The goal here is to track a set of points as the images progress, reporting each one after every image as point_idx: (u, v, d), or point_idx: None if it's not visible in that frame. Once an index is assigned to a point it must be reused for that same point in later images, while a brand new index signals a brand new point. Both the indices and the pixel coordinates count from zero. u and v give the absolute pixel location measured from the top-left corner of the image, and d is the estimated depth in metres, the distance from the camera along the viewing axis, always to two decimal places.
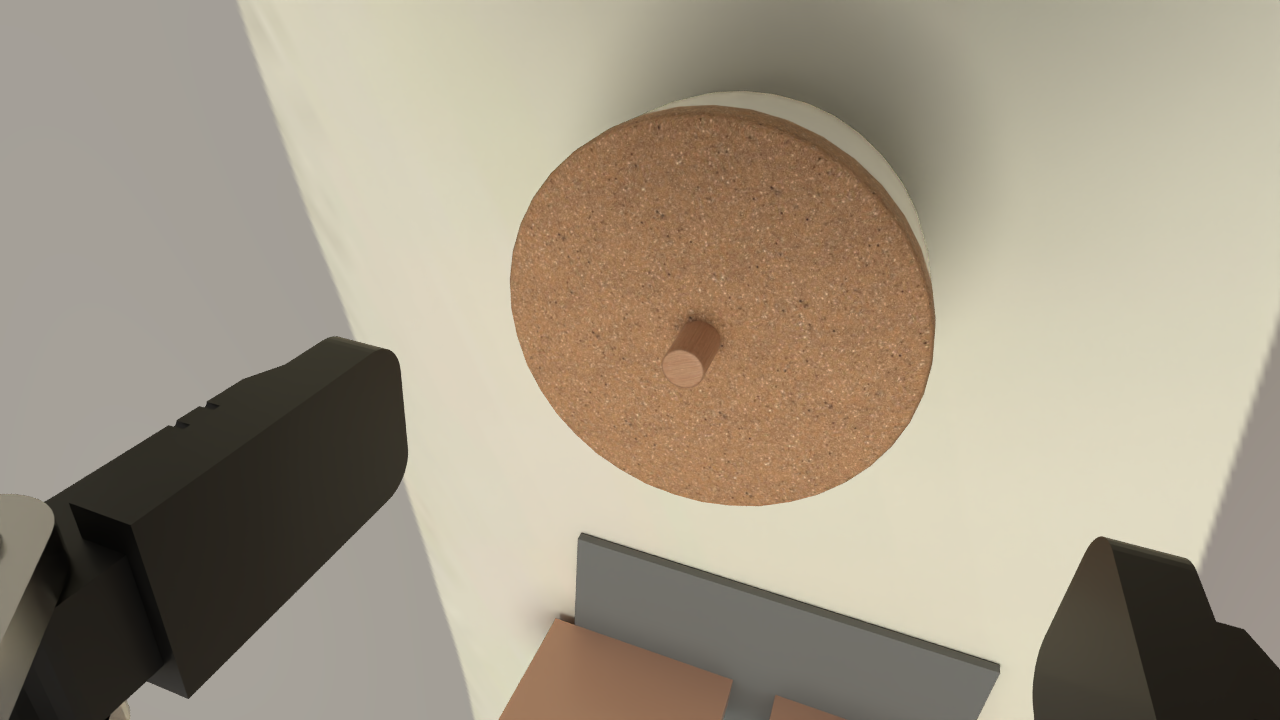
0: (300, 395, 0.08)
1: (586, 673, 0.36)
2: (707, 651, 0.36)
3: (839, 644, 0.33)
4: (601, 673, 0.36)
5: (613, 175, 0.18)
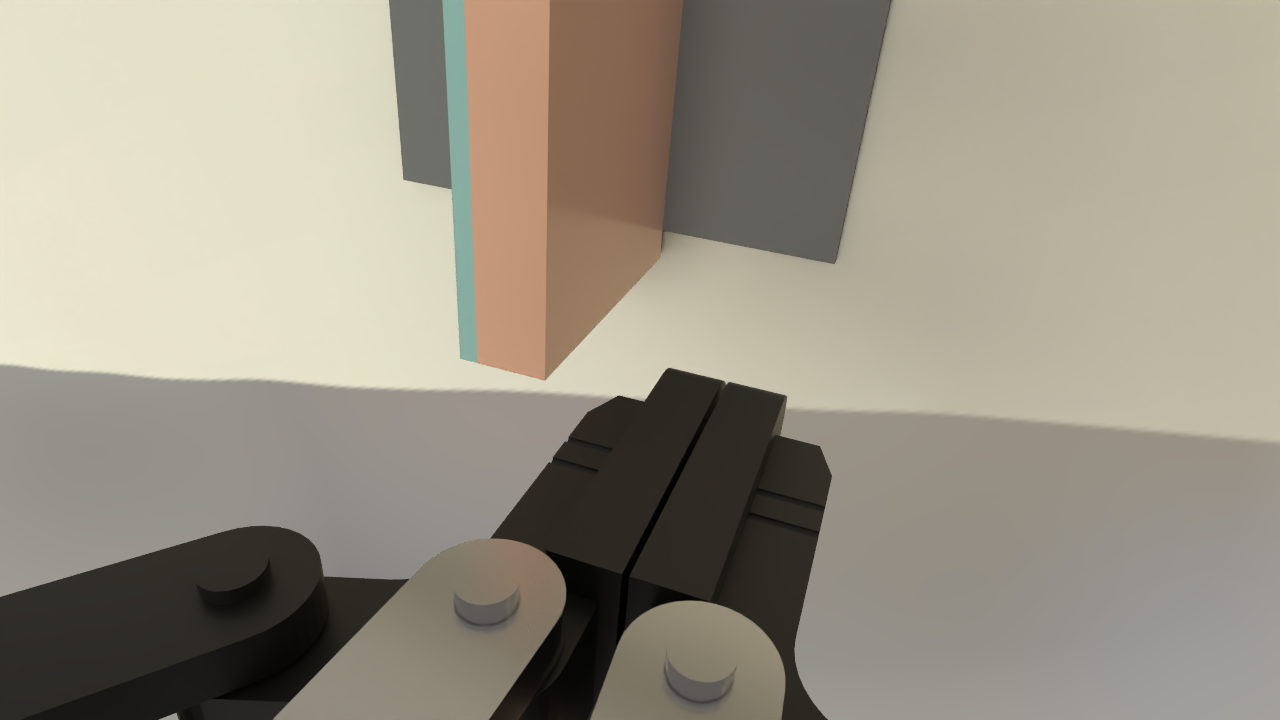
0: (683, 432, 0.08)
1: None
2: None
3: (830, 59, 0.22)
4: None
5: None
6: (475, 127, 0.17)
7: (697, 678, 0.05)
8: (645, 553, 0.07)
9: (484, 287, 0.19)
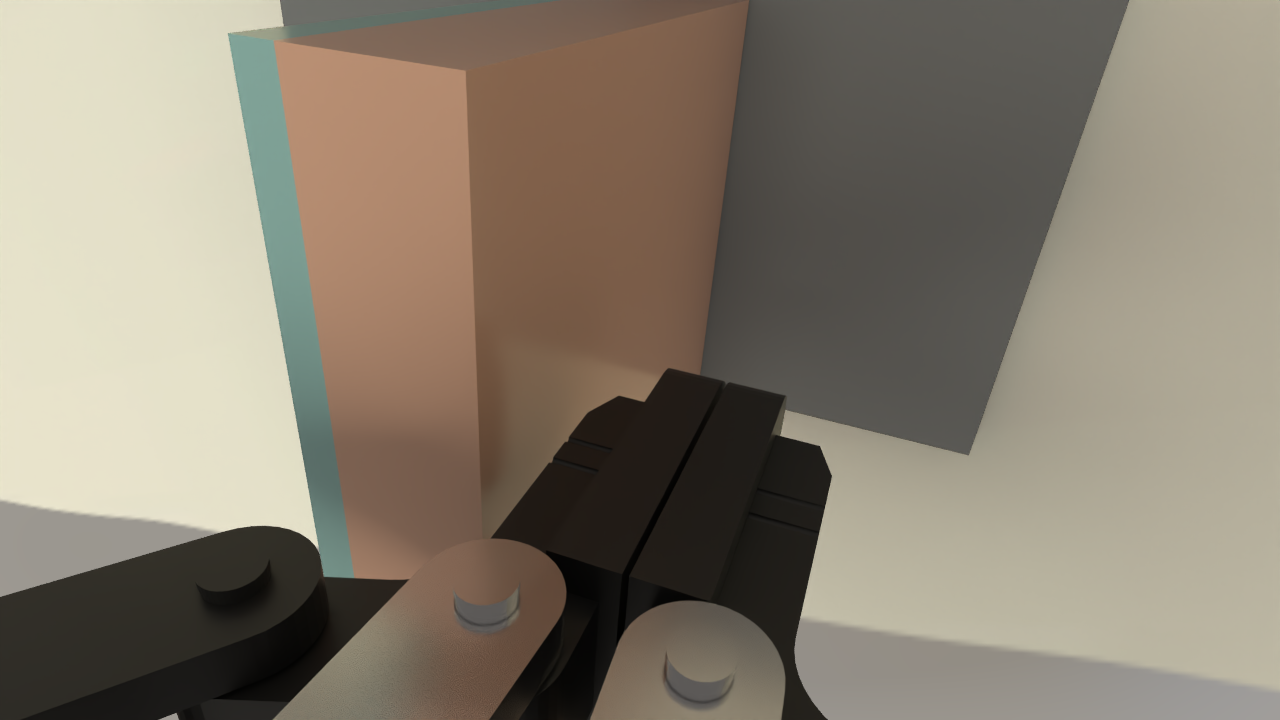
0: (683, 432, 0.08)
1: None
2: None
3: (989, 154, 0.13)
4: None
5: None
6: (333, 352, 0.08)
7: (697, 678, 0.05)
8: (645, 553, 0.07)
9: None
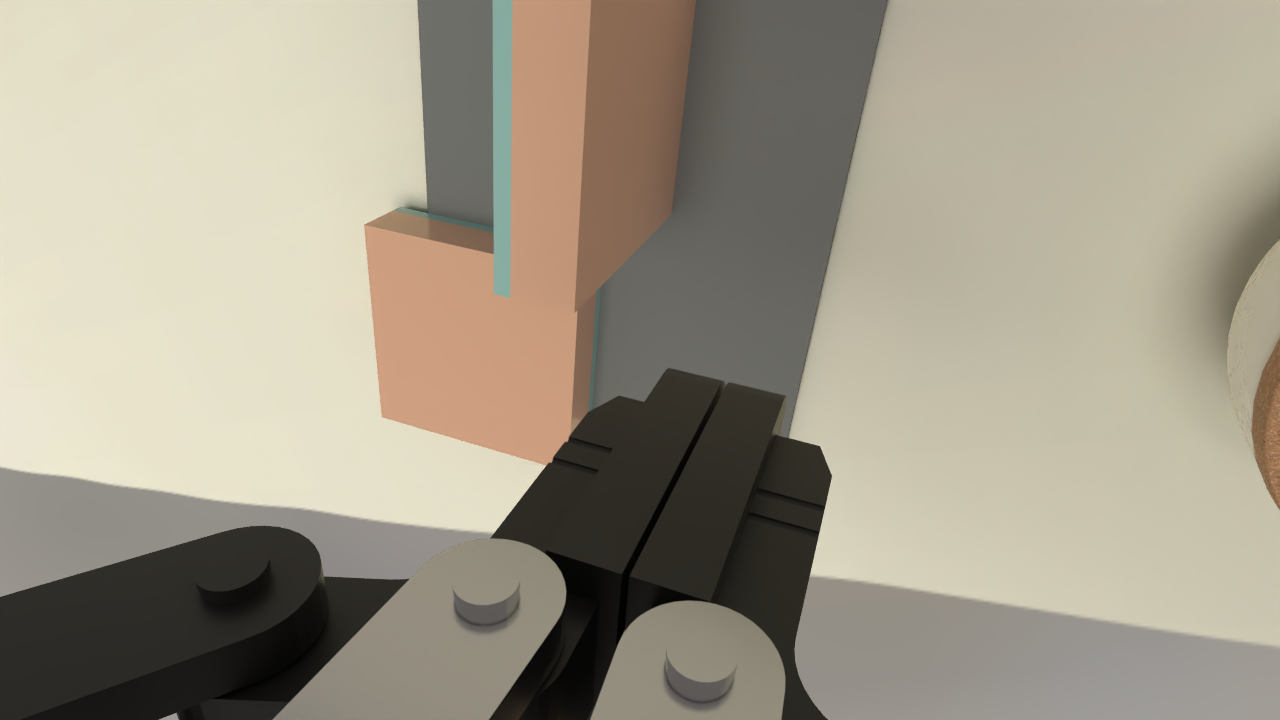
0: (683, 432, 0.08)
1: (672, 32, 0.23)
2: (712, 183, 0.27)
3: (774, 338, 0.29)
4: (673, 54, 0.24)
5: None
6: None
7: (697, 677, 0.05)
8: (645, 553, 0.07)
9: None
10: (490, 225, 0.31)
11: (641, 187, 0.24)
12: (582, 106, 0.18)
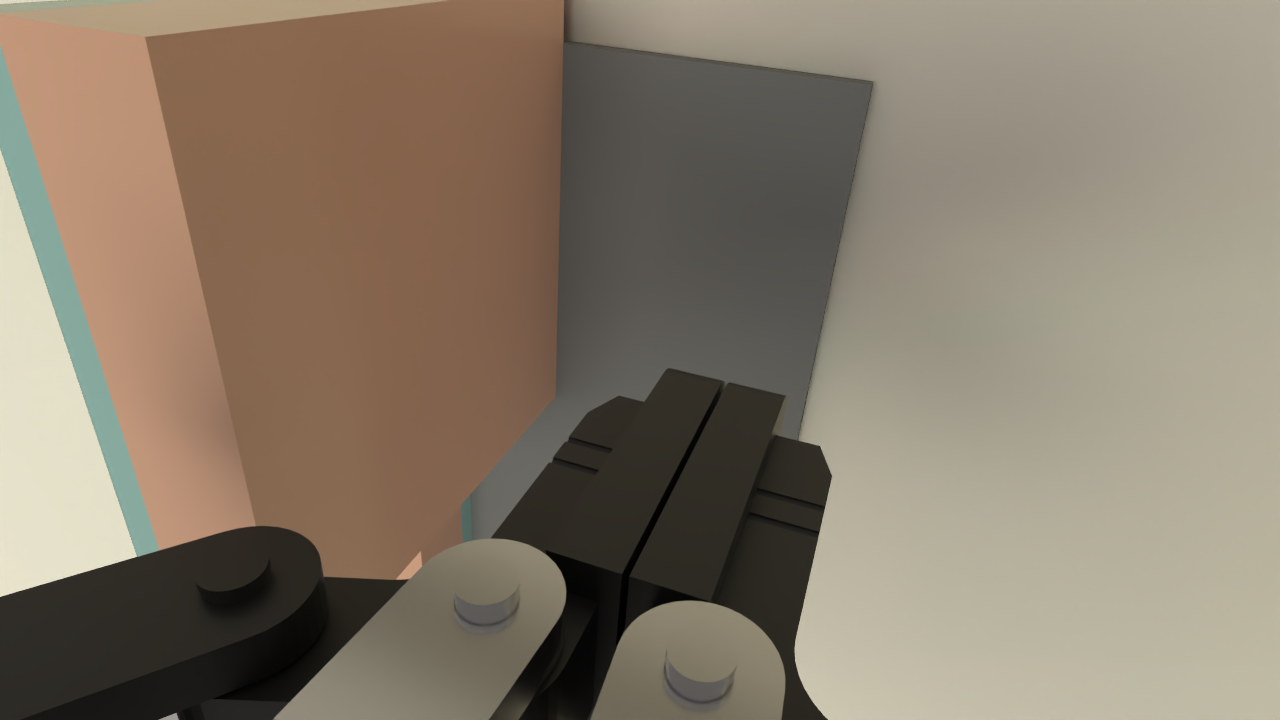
0: (683, 432, 0.08)
1: (507, 155, 0.14)
2: (610, 359, 0.18)
3: None
4: (515, 186, 0.14)
5: None
6: None
7: (696, 678, 0.05)
8: (644, 553, 0.07)
9: None
10: None
11: (466, 406, 0.15)
12: (217, 378, 0.09)
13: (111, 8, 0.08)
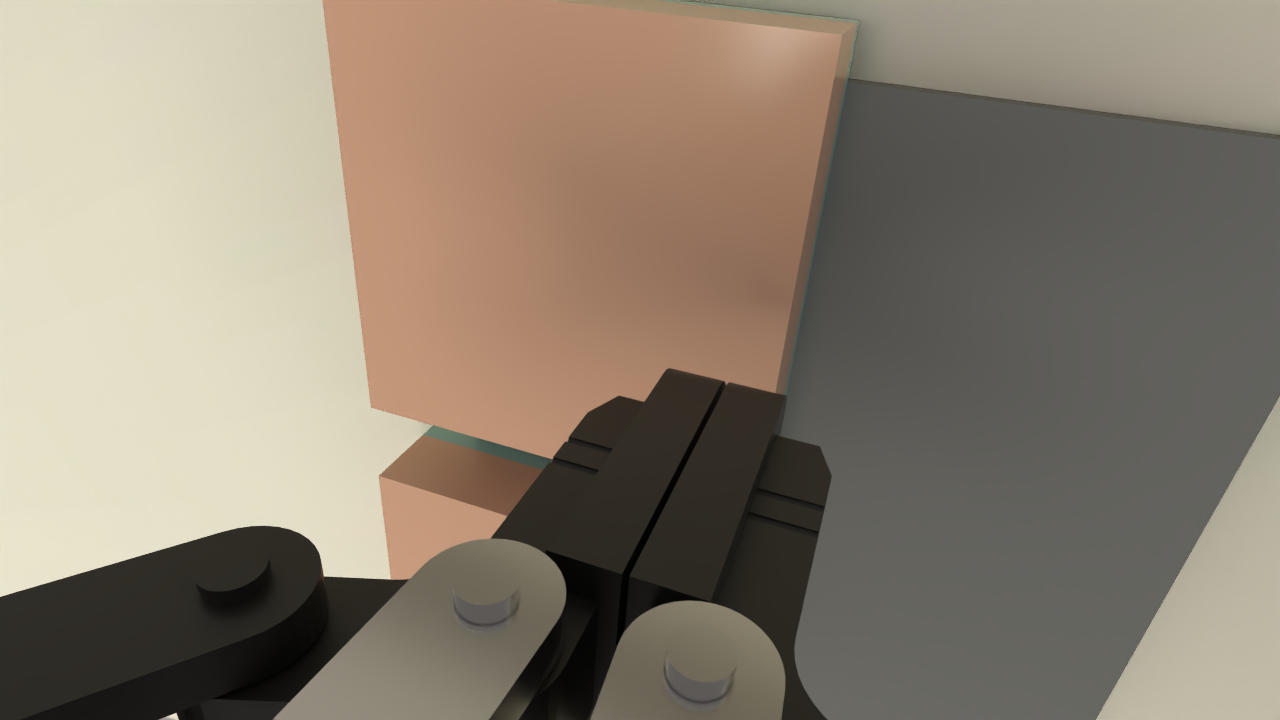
0: (684, 432, 0.08)
1: (672, 185, 0.13)
2: (970, 445, 0.16)
3: (1050, 671, 0.18)
4: (685, 225, 0.13)
5: None
6: None
7: (697, 678, 0.05)
8: (645, 553, 0.07)
9: None
10: None
11: (572, 380, 0.16)
12: (345, 176, 0.15)
13: None
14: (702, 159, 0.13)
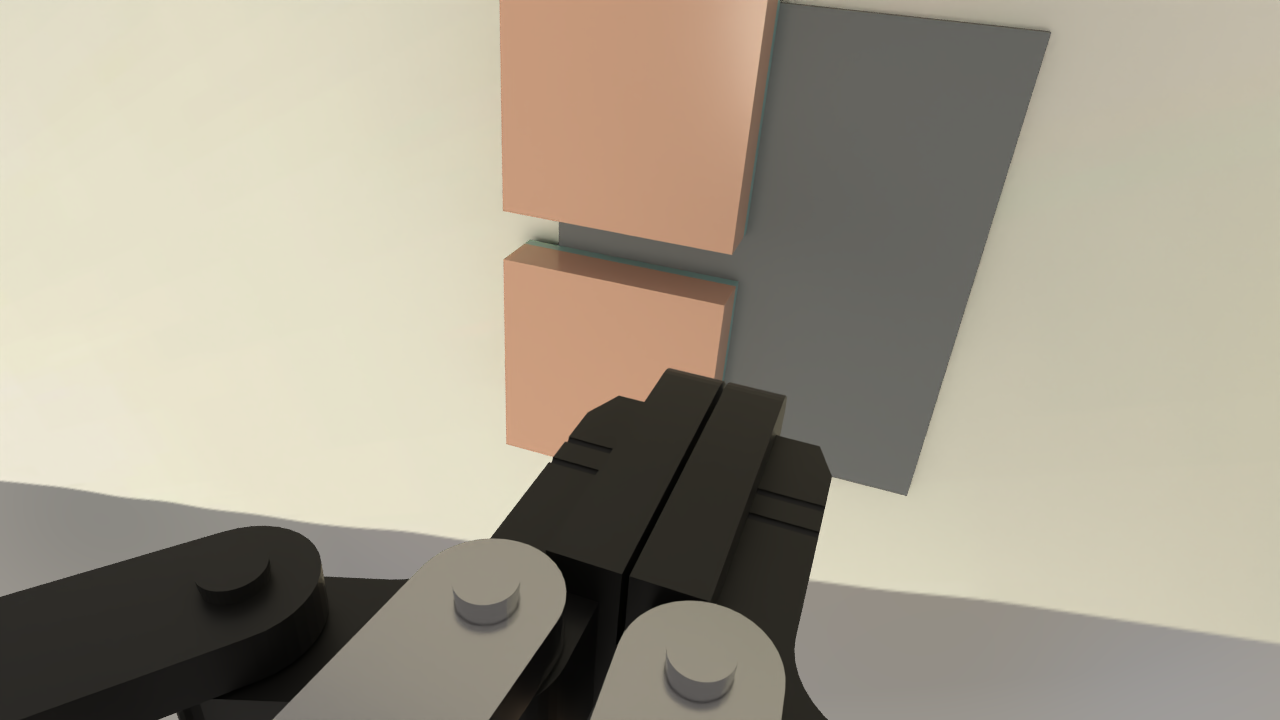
0: (684, 432, 0.08)
1: (688, 55, 0.25)
2: (855, 216, 0.28)
3: (910, 365, 0.30)
4: (694, 77, 0.25)
5: None
6: None
7: (697, 678, 0.05)
8: (645, 553, 0.07)
9: None
10: (622, 257, 0.32)
11: (629, 178, 0.28)
12: (501, 61, 0.27)
13: None
14: (703, 40, 0.25)
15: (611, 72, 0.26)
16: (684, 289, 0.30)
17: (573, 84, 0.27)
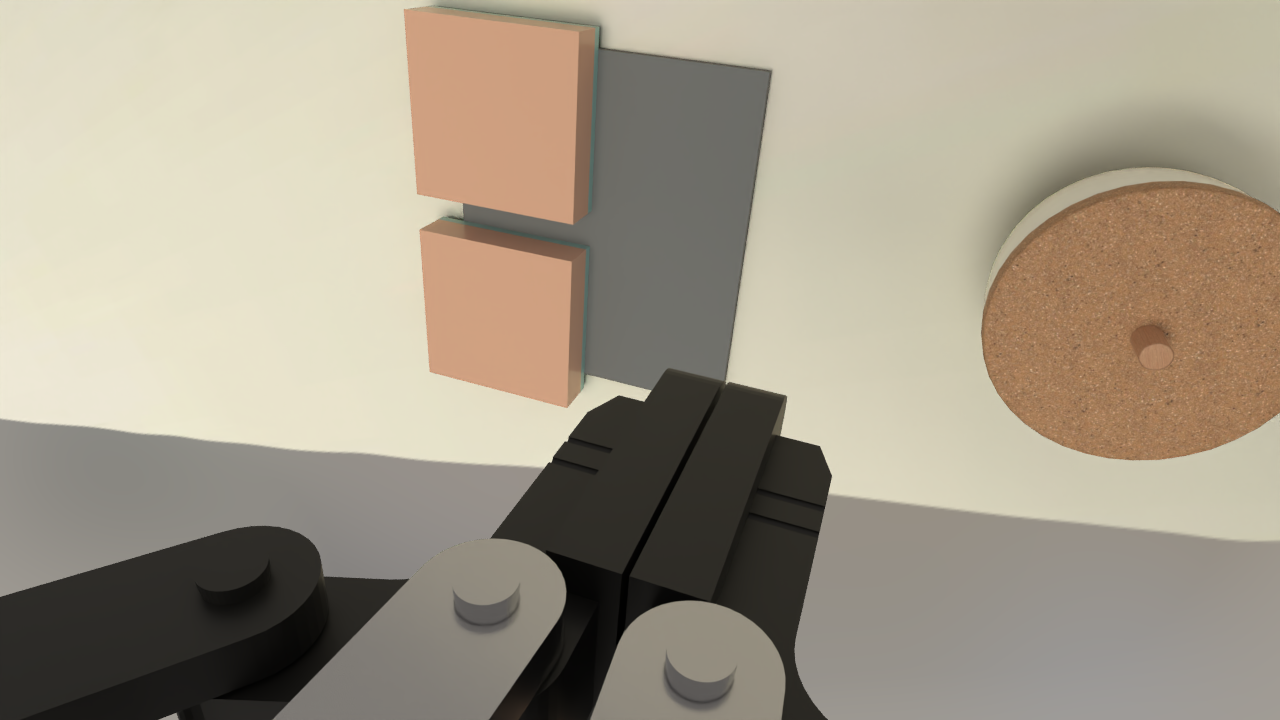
0: (683, 432, 0.08)
1: (532, 85, 0.36)
2: (662, 197, 0.39)
3: (710, 306, 0.41)
4: (537, 100, 0.37)
5: None
6: None
7: (697, 678, 0.05)
8: (645, 553, 0.07)
9: None
10: (508, 229, 0.43)
11: (500, 170, 0.39)
12: (410, 88, 0.39)
13: (441, 9, 0.38)
14: (540, 75, 0.36)
15: (483, 96, 0.38)
16: (546, 251, 0.41)
17: (459, 104, 0.38)
